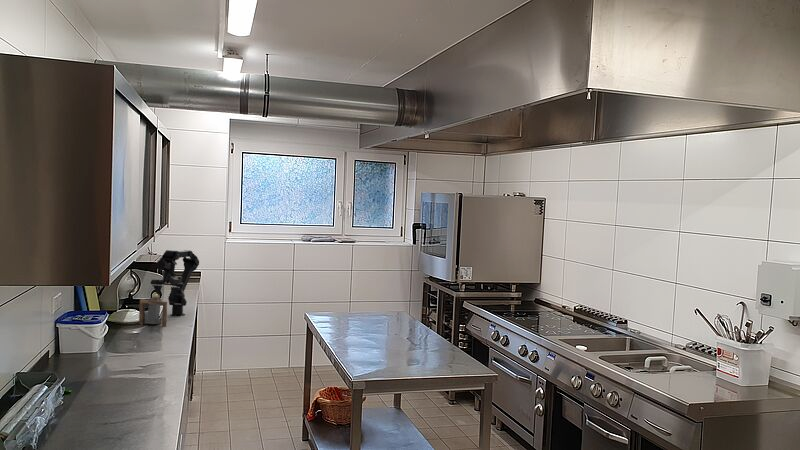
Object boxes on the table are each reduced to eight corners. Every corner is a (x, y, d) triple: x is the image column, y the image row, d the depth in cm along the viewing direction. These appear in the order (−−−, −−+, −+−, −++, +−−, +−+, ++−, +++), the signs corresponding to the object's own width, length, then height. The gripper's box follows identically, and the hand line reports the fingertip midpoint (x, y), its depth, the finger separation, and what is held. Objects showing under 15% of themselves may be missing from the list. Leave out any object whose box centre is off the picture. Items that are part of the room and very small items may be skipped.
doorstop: (150, 322, 339) (153, 293, 341) (160, 323, 338) (163, 293, 340) (144, 323, 333) (148, 292, 335) (154, 324, 333) (158, 293, 334)
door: (144, 322, 337) (144, 312, 337) (142, 322, 338) (142, 312, 337) (157, 318, 349) (158, 308, 349) (156, 318, 349) (156, 308, 349)
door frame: (141, 323, 337) (142, 299, 336) (166, 326, 333) (167, 301, 333) (139, 324, 335) (139, 299, 334) (164, 326, 331) (165, 302, 331)
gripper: (164, 270, 339) (160, 298, 337) (191, 273, 355) (187, 300, 352) (151, 269, 345) (147, 297, 343) (178, 273, 361) (175, 299, 358)
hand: (165, 298), depth 349 cm, fingers open, 9 cm apart
